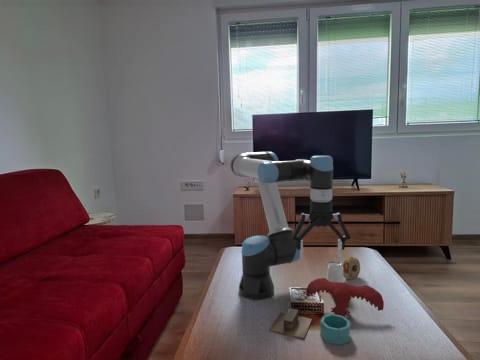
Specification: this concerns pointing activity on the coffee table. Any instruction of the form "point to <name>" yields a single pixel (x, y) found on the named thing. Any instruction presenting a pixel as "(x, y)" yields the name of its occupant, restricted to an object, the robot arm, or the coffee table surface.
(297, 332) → the walnut lid
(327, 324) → the teal bowl
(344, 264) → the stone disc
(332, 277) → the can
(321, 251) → the coffee table surface
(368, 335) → the coffee table surface
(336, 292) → the decorative bird sculpture
